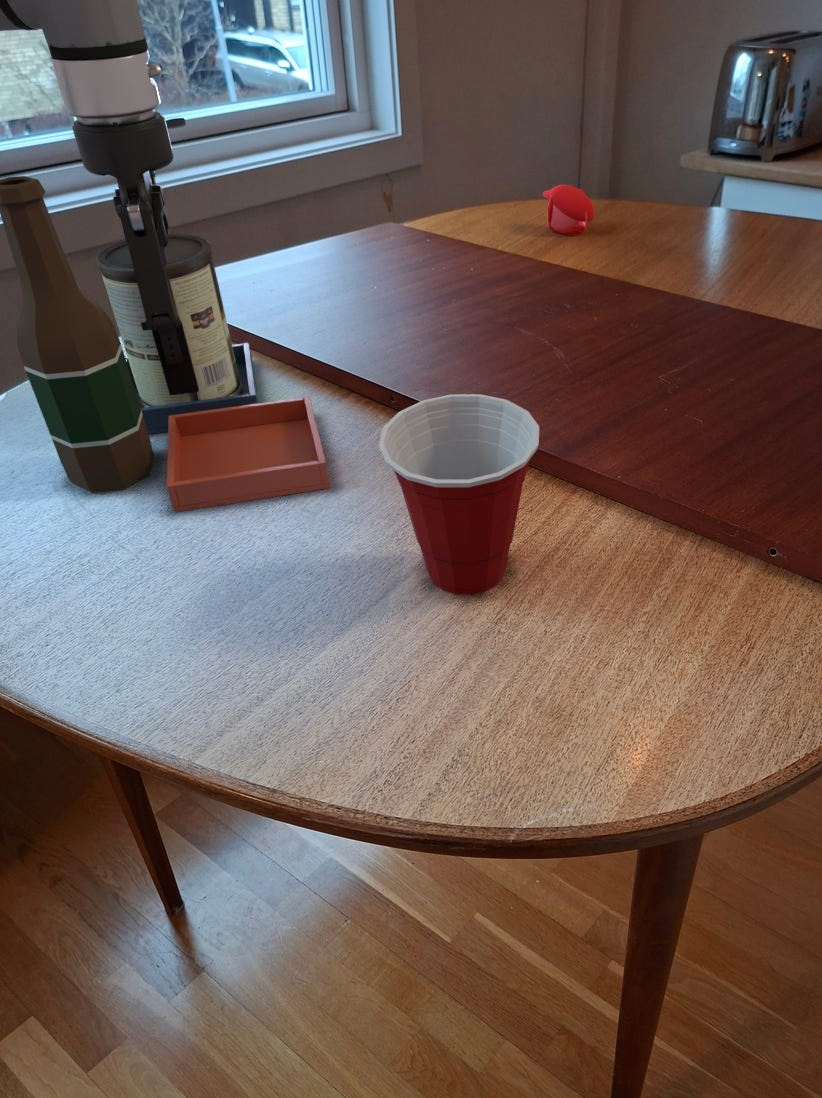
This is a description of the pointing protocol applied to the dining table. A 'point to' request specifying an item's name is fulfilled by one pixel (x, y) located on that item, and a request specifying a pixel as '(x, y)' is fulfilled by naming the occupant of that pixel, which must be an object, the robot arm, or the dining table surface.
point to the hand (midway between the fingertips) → (184, 369)
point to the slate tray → (159, 415)
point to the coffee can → (196, 311)
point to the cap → (568, 209)
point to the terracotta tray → (244, 454)
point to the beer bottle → (72, 354)
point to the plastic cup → (462, 482)
